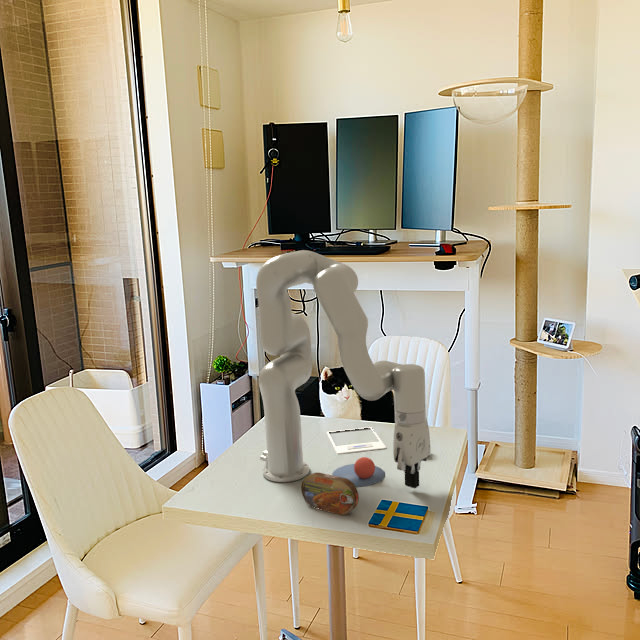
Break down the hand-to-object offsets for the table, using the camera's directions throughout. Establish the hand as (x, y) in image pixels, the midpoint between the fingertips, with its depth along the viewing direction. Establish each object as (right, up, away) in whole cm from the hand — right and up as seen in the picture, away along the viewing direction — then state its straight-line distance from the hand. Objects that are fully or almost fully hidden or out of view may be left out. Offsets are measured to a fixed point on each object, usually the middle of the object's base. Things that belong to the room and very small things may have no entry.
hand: (412, 485), depth 161 cm
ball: (-11, +2, +9) cm, 15 cm away
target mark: (-13, 0, +11) cm, 17 cm away
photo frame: (-12, +4, +36) cm, 38 cm away
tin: (-20, -4, -6) cm, 22 cm away
